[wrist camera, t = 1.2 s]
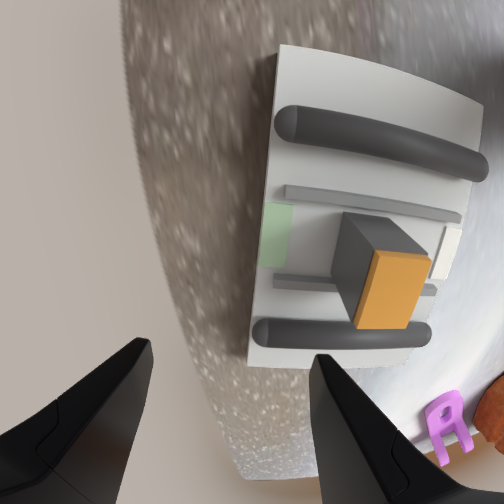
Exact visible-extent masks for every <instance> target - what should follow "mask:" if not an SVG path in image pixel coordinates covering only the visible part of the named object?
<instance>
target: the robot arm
mask: <svg viewBox="0 0 504 504" xmlns="http://www.w3.org/2000/svg"><path fill="white" fill-rule="evenodd" d="M152 368H153V353H152V348H151V342H150V340H149V339H145V338H139V337H137V338H135V339H133V340H132V341H131V342H130V343H128V344H127V345H126V346H124V347H123V348H122V349H120V350H119V351H118V352H116V353H115V354H114V355H112V356H111V357H110V358H109V359H107V360H106V361H105V362H104V363H102V364H101V365H99V366H98V367H97V368H95V369H94V370H93V371H92V372H90V373H89V374H88V375H86V376H85V377H84V378H83V379H81V380H80V381H78V382H77V383H76V384H75V385H73V386H72V387H71V388H69V389H68V390H67V391H66V392H64V393H63V394H62V395H60V396H59V397H58V398H57V399H55V400H54V401H52V402H51V403H50V404H48V405H47V406H46V407H44V408H43V409H42V410H40V411H39V412H37V413H36V414H35V415H33V416H31V417H30V418H28V419H27V420H25V421H24V422H22V423H20V424H19V425H17V426H15V427H13V428H12V429H10V430H8V431H7V432H5V433H3V434H2V435H0V504H116V500H117V496H118V492H119V489H120V485H121V482H122V478H123V475H124V471H125V468H126V465H127V461H128V458H129V454H130V451H131V448H132V445H133V441H134V438H135V435H136V432H137V428H138V425H139V422H140V419H141V416H142V413H143V410H144V406H145V402H146V397H147V392H148V387H149V382H150V377H151V373H152ZM309 392H310V419H311V428H312V434H313V441H314V447H315V454H316V460H317V467H318V474H319V481H320V487H321V495H322V502H323V504H504V493H501V492H492V491H484V490H477V489H471V488H468V487H465V486H463V485H461V484H459V483H457V482H456V481H455V480H453V479H452V478H451V477H450V476H449V475H447V474H446V473H445V472H444V471H442V470H441V469H440V468H439V467H437V466H436V465H435V464H434V463H432V462H431V461H430V460H429V459H428V458H427V457H426V456H425V455H424V454H422V453H421V452H420V451H419V450H418V449H417V448H416V447H415V446H414V445H413V444H412V443H411V442H410V441H409V440H408V439H407V438H406V437H405V436H404V435H403V434H402V433H401V432H400V430H397V427H396V426H395V425H394V424H393V423H392V422H391V421H390V420H389V419H388V418H387V416H386V415H385V414H384V413H383V412H382V411H381V410H380V409H379V408H378V407H377V406H376V405H375V403H374V402H373V401H372V400H371V399H370V398H369V397H368V396H367V395H366V394H365V392H364V391H363V390H362V389H361V388H360V387H359V386H358V385H357V384H356V383H355V382H354V380H353V379H352V378H351V377H350V376H349V375H348V374H347V373H346V372H345V371H344V369H343V368H342V367H341V366H340V365H339V364H338V363H337V362H336V361H335V360H334V358H333V357H332V356H331V355H329V354H316V355H315V357H314V360H313V363H312V366H311V369H310V373H309Z"/></svg>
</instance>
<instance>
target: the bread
mask: <svg viewBox="0 0 504 504" xmlns="http://www.w3.org/2000/svg"><path fill="white" fill-rule="evenodd" d="M472 422H473V424H474V426H475V428H476V429H477V430H478V431H479V432H481V433H482V434H483V435H484V437H485V439H486V440H487V442H495V448H496V449H497V450H498V451H499V452H500V453H502V454H504V375H502V376H501V377H500V378H498V379H497V380H496V381H495V382H494V383H493V384H492V385H491V386H490V387H489V388H488V389H487V391H486V392H485V394H484V396H483V397H482V399H481V401H480V402H479V404H478V406H477V410H476V413H475V415H474V418H473V421H472Z"/></svg>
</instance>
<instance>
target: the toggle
mask: <svg viewBox="0 0 504 504" xmlns="http://www.w3.org/2000/svg"><path fill="white" fill-rule="evenodd" d="M431 263H432V260H431V259H430V258H429V257H428V252H426V251H425V250H424V249H423V248H422V247H421V246H420V245H419V244H418V243H417V242H416V241H415V240H413V239H412V238H411V237H410V236H409V235H408V234H407V233H406V232H405V231H403V230H402V229H401V228H400V227H399V226H398V225H397V224H395V223H394V222H393V221H392V220H391V219H390V218H388V217H381V216H374V215H367V214H359V213H352V212H344V211H343V215H342V220H341V225H340V230H339V235H338V240H337V245H336V249H335V254H334V258H333V263H332V267H331V272H330V273H331V276H332V278H333V280H334V283H335V285H336V287H337V290H338V292H339V295H340V297H341V299H342V302H343V304H344V307H345V309H346V312H347V314H348V317H349V319H350V322H351V323H354V324H355V326H356V329H406V327H407V325H408V323H409V320H410V318H411V316H412V313H413V311H414V309H415V306H416V304H417V301H418V299H419V296H420V294H421V291H422V288H423V286H424V283H425V280H426V278H427V275H428V272H429V269H430V266H431Z"/></svg>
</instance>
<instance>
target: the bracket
mask: <svg viewBox="0 0 504 504" xmlns="http://www.w3.org/2000/svg"><path fill="white" fill-rule="evenodd" d="M448 406H449V412H448V413H447V414H446V415H445V416H443V417H440V412H441V411H442V410H443V409H444V408H446V407H448ZM462 410H463V398H462V396H461V394H460V393H459V391H457V390H452V391H449V392H446V393H444V394H442V395H441V396H439V397H437V398H436V399H435V400H433V401H432V402H431V403H430V404H429V405H428V406H427V408H426V409H425V412H424V413H425V418H426V422H427V427H428V432H429V437H430V439H431V442H432V445H433V447H434V450H435V453H436V455H437V458H438V461H439V464H440V466H441V467H442V466H444V465H445V464H447V463H449V458H448V454H447V451H446V449H445V446H444V443H443V441H442V438H441V437H443V436H444V435H446V434H448V433H450V432H452V431H453V430H454V431H455V433H456V435H457V437H458V440H459V442H460V445H461V447H462V449H463V451H464V453H467V452H468V451H470V450H472V449H473V448H474V444H473V441H472V438H471V435H470V433H469V431H468V429H467V427H466V425H465V422H464V420H463V418H462Z"/></svg>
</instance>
